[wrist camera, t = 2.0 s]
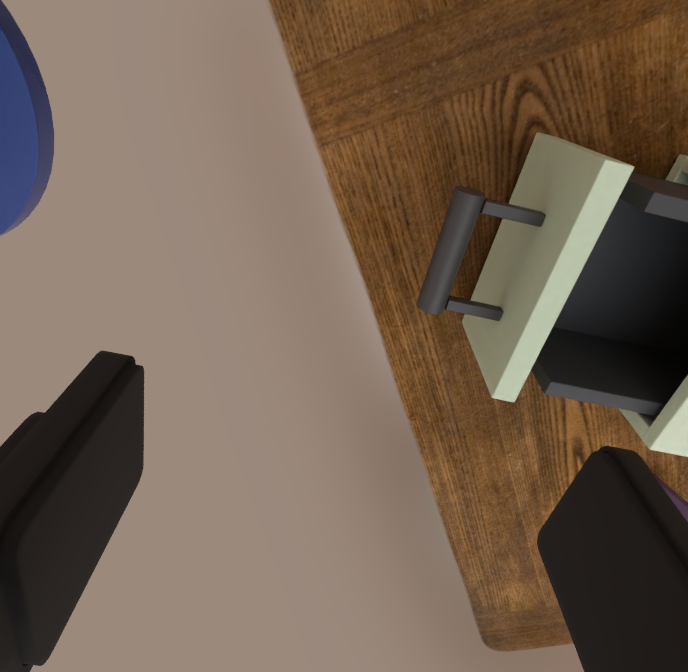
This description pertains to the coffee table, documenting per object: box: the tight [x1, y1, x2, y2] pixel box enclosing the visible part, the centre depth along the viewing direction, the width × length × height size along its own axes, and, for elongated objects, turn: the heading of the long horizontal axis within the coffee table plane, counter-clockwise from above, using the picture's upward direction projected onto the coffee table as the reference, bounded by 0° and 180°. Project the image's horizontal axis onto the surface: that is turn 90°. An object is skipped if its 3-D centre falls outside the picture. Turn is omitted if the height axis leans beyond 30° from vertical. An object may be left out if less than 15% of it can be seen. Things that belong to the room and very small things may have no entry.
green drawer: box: [417, 132, 688, 416], centre depth 24 cm, size 19×11×8 cm, turn 78°
